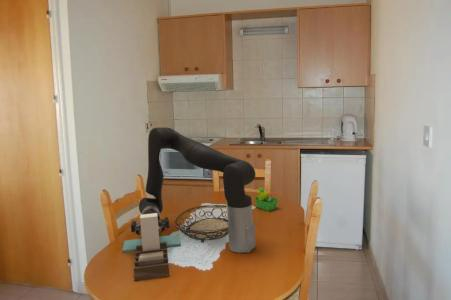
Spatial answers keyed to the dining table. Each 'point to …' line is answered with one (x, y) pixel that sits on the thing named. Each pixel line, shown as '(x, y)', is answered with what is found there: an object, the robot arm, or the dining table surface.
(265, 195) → the fruit basket
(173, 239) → the board
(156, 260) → the offcut tall
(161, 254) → the offcut mid
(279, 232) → the dining table surface
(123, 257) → the dining table surface
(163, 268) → the rack
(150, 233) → the beige tall block
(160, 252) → the offcut short
